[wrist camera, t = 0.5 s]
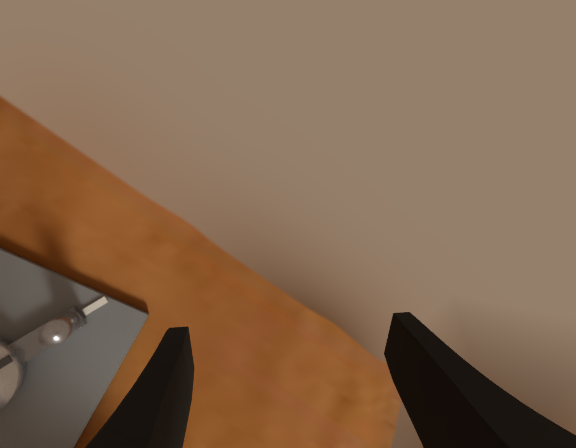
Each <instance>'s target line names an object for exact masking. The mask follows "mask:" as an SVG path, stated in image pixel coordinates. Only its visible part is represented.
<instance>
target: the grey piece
mask: <svg viewBox="0 0 576 448" xmlns="http://www.w3.org/2000/svg"><path fill="white" fill-rule="evenodd" d="M86 324H87V321H86V320H85V318H84V317H83V315H82V314H81V312H80V311H79V310H78V308H77V307H76V306H74V307H72V308H70V309H69V310H67V311H65V312H64V313H62V314H60V315H59V316H57V317H55V318H54V319H52V320H50V321H49V322H47V323H45V324H43V325H42V326H40V327H38V328H37V329H35V330H33V331H32V332H30V333H28V334H27V335H25V336H23V337H21V338H20V339H18V340H16V341H15V342H13V343H12V342H10V341H8V340H6V339H4V338H1V337H0V410H1V409H2V408H3V407H4V406H5V405H6V404H7V403H8V402H9V401H10V400H11V399H12V398H13V397H14V396H15V395H16V394H17V393H18V391H19V390H20V388H21V387H22V385H23V383H24V380H25V377H26V370H27V367H26V361H27V360H29V359H31V358H32V357H34V356H36V355H37V354H39V353H40V352H42V351H44V350H45V349H47V348H49V347H56V346H58V345H60V344H62V343H63V342H64V341H65V340H66V339H67V338H68V337H69V336H70V335H71V334H72V333H73V332H75V331H76V330H78V329H79V328H81V327H83V326H84V325H86Z"/></svg>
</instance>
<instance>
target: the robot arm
mask: <svg viewBox="0 0 576 448" xmlns="http://www.w3.org/2000/svg"><path fill="white" fill-rule="evenodd" d="M384 355H385V358H386V361H387V364H388V367H389V370H390V373H391V376H392V379H393V382H394V384H395V386H396V389H397V391H398V393H399V395H400V397H401V400H402V402H403V404H404V406H405V408H406V410H407V413H408V415H409V417H410V419H411V421H412V423H413V425H414V428H415V429H416V432H417V434H418V436H419V438H420V440H421V442H422V444H423V447H424V448H576V435H574V434H572V433H571V432H569V431H567V430H565V429H563V428H562V427H560V426H558V425H557V424H555V423H554V422H552V421H550V420H548V419H547V418H545V417H544V416H542V415H540V414H539V413H537V412H536V411H534V410H533V409H531V408H529V407H528V406H526V405H525V404H523V403H522V402H520V401H519V400H517V399H516V398H515V397H513V396H512V395H510V394H509V393H507V392H506V391H504V390H503V389H501V388H500V387H499V386H497V385H496V384H494V383H493V382H492V381H490V380H489V379H488V378H486V377H485V376H484V375H483V374H481V373H480V372H479V371H478V370H476V369H475V368H474V367H472V366H471V365H470V364H469V363H468V362H466V361H465V360H464V359H463V358H461V357H460V356H459V355H458V354H457V353H455V352H454V351H453V350H452V349H451V348H450V347H448V346H447V345H446V344H445V343H444V342H443V341H441V340H440V339H439V338H438V337H437V336H436V335H435V334H434V333H433V332H431V331H430V330H429V329H428V328H427V327H426V326H425V325H424V324H422V323H421V322H420V321H419V320H418V319H417V318H416V317H414V316H413V315H412V314H411V313H410V312H404V313H393V317H392V321H391V326H390V330H389V334H388V339H387V343H386V347H385V352H384ZM193 379H194V363H193V356H192V349H191V342H190V335H189V328H188V327H176V328H169V329H168V330H167V331H166V333H165V335H164V337H163V338H162V340H161V342H160V344H159V346H158V347H157V349H156V351H155V352H154V354H153V356H152V357H151V359H150V361H149V362H148V364H147V365H146V367H145V368H144V370H143V372H142V373H141V375H140V376H139V378H138V379H137V381H136V382H135V384H134V385H133V387H132V388H131V390H130V391H129V392H128V394H127V395H126V396H125V398H124V399H123V401H122V402H121V403H120V405H119V406H118V407H117V409H116V410H115V412H114V413H113V414H112V415H111V417H110V418H109V419H108V421H107V422H106V423H105V424H104V426H103V427H102V428H101V429H100V431H99V432H98V433H97V434H96V435H95V437H94V438H93V439H92V440H91V441H90V443H89V444H88V445H87V446H86V447H85V448H182V447H183V442H184V437H185V432H186V427H187V421H188V416H189V411H190V406H191V400H192V390H193Z"/></svg>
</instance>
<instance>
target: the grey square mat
mask: <svg viewBox="0 0 576 448" xmlns="http://www.w3.org/2000/svg"><path fill="white" fill-rule="evenodd" d="M74 306H76V307H77V308H78V310H79V311H80V312H81V314H82V315H83V317H84V318H85V320H86V321H87V324H86V325H84V326H83V327H81V328H79V329H78V330H76V331H75V332H73V333H72V334H71V335H70V336H69V337H68V338H67V339H66V340H65V341H64V342H63V343H62V344H60V345H58V346H56V347H49V348H47V349H45V350H44V351H42V352H40V353H39V354H37V355H36V356H34V357H32V358H31V359H29V360H27V361H26V367H27V370H26V377H25V380H24V383H23V385H22V387H21V388H20V390H19V391H18V393H17V394H16V395H15V396H14V397H13V398H12V399H11V400H10V401H9V402H8V403H7V404H6V405H5V406H4V407H3V408H2V409H1V410H0V448H74V446H75V444H76V443H77V441H78V439H79V437H80V436H81V434H82V432H83V430H84V428H85V427H86V425H87V423H88V421H89V420H90V418H91V416H92V414H93V413H94V411H95V409H96V407H97V405H98V404H99V402H100V400H101V398H102V397H103V395H104V393H105V391H106V390H107V388H108V386H109V384H110V382H111V381H112V379H113V377H114V375H115V374H116V372H117V370H118V368H119V367H120V365H121V363H122V361H123V359H124V358H125V356H126V354H127V352H128V351H129V349H130V347H131V345H132V344H133V342H134V340H135V338H136V336H137V335H138V333H139V331H140V329H141V328H142V326H143V324H144V322H145V321H146V319H147V317H148V315H149V313H147V312H145V311H142V310H140V309H138V308H136V307H133V306H131V305H129V304H127V303H124V302H122V301H120V300H118V299H115V298H113V297H111V296H109V295H106V294H104V293H102V292H100V291H97V290H95V289H93V288H90V287H88V286H86V285H84V284H81V283H79V282H77V281H75V280H72V279H70V278H68V277H66V276H63V275H61V274H59V273H57V272H54V271H52V270H50V269H48V268H45V267H43V266H41V265H39V264H36V263H34V262H32V261H29V260H27V259H25V258H23V257H20V256H18V255H16V254H14V253H11V252H9V251H7V250H5V249H2V248H0V337H1V338H4V339H6V340H8V341H10V342H12V343H13V342H15V341H16V340H18V339H20V338H21V337H23V336H25V335H27V334H28V333H30V332H32V331H33V330H35V329H37V328H38V327H40V326H42V325H43V324H45V323H47V322H49V321H50V320H52V319H54V318H55V317H57V316H59V315H60V314H62V313H64V312H65V311H67V310H69V309H70V308H72V307H74Z"/></svg>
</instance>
